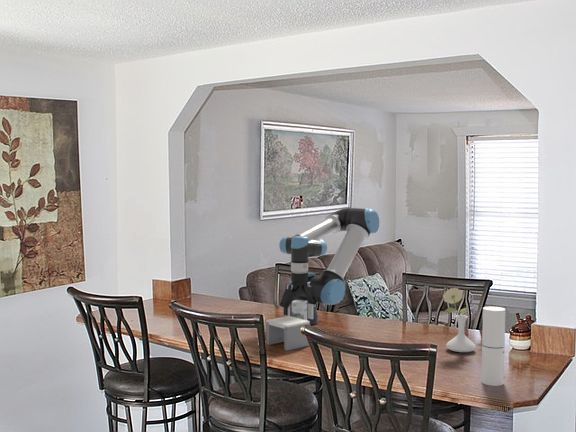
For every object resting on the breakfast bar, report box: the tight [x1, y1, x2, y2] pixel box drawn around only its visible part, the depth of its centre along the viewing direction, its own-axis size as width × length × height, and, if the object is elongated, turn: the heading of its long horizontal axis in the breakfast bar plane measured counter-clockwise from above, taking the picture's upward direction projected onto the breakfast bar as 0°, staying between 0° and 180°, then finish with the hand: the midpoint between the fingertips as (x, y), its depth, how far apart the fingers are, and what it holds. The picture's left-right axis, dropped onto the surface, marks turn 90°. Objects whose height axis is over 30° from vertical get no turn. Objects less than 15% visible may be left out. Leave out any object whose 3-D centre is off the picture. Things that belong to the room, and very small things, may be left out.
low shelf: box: [265, 316, 311, 351], centre depth 270 cm, size 13×12×10 cm
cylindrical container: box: [480, 306, 506, 387], centre depth 222 cm, size 7×7×25 cm
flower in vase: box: [442, 287, 477, 353], centre depth 261 cm, size 13×11×25 cm
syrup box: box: [292, 300, 307, 320], centre depth 289 cm, size 6×6×14 cm
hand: (299, 320), depth 288 cm, fingers open, 13 cm apart
